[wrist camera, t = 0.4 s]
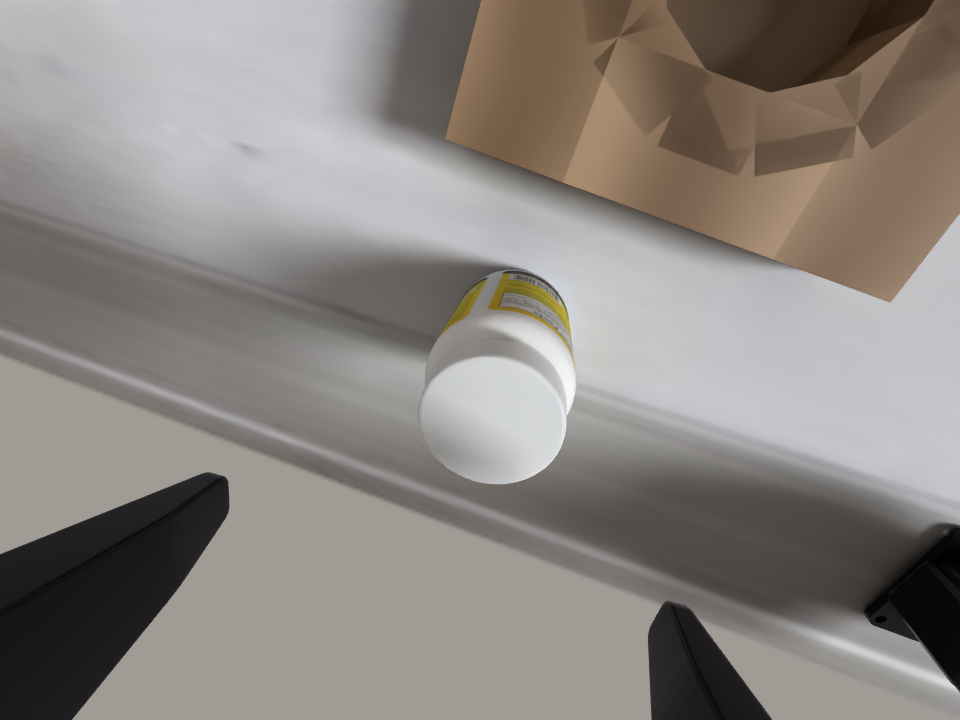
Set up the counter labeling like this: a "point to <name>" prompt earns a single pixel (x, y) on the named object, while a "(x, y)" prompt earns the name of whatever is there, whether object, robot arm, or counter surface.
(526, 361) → the supplement bottle
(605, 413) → the counter surface
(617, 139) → the wooden holder block
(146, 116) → the counter surface
